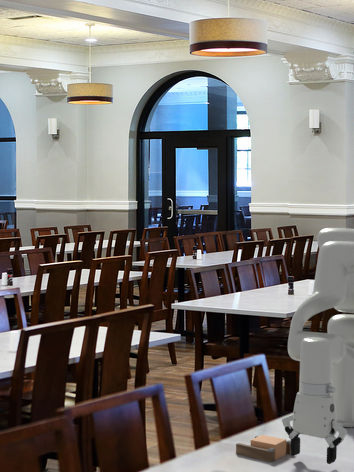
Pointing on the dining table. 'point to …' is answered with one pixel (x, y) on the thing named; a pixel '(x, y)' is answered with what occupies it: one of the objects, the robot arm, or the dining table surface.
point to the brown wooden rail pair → (259, 451)
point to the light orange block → (271, 444)
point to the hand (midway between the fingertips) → (312, 458)
